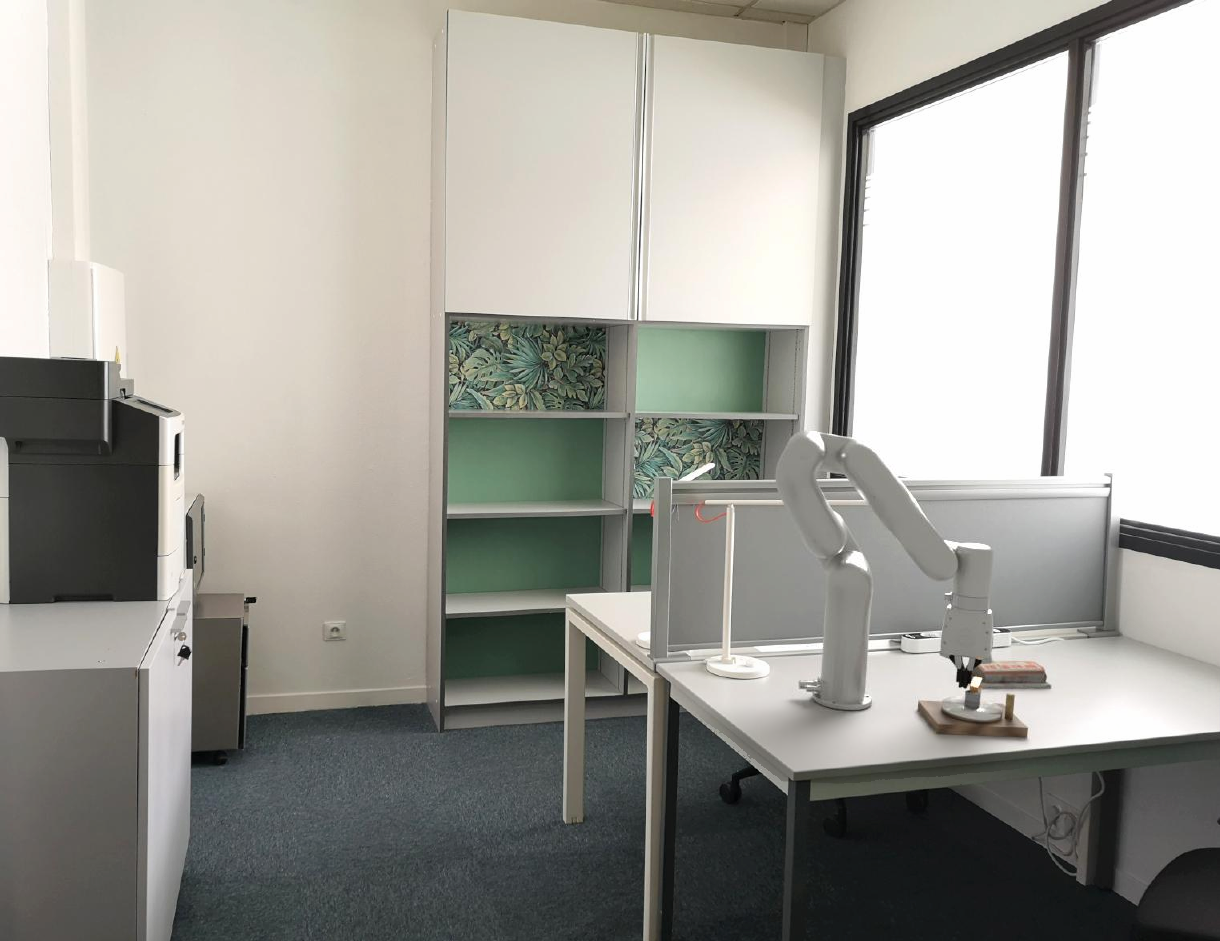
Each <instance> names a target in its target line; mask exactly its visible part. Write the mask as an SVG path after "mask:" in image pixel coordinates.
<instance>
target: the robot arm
mask: <svg viewBox="0 0 1220 941" xmlns="http://www.w3.org/2000/svg"><path fill="white" fill-rule="evenodd" d="M818 471H820V472H826V473H832V474H838V475H844V476H845V477H846V479H847V480H848V481H849V482H850V484H851V485H852V487H853V488H854V489H855V490H856V491H857V493H858V494H859V495H860V496H861V498H862V499H863V500H864V501H865V503H866V504H867V505H868V507H869V509H871V510H872V512H873V513H874V515H875V516H876V517H877V518H878V520H879V521H880V522H881V524H882V525H883V526H884V527H885V529H887V530H888V532H889V533H890V534H891V535H892V536H893V537H894V538H895V540H897V542H898V544H899V545H900V546H901V547H902V548H903V550H904V551H905V552H906V553H907V555H908V556H909V557H910V559H911V560H912V561H913V563H914V564H915V565H916V566H917V568H918V569H919V570H920V572H921V573H922V574H923V575H924V577H926V578H927V579H928V580H931V581H933V582H936V583H937V582H938V583H943V582H947V581H949V580H951V579H952V591H951V592H950V593H945V594H944V600H947V601H948V602H950V604H948V605H947V606H946V610H945V613H944V616H943V621H942V622H943V623H942V629H941V636H940V637H941V638H940V651H939V653H938V654H939V656H940V657H943V658H945V659H949V660H950V661H951V663H952V664H953V665H954V666H955V669H956V676H955V677H956V678H955V682H956V683H958V688H959V689H962V688H963V689H965V690H966V689H967V688H968V687H969V685H971V682H972V670H973V669H974V668H976V667H977V666H978V665H980V664H991V663H992V661H994V660H993V659H994V658H993V654H992V651H993V648H994V647H993V646H994V619H993V612H992V610H991V609H990V600H991V599H990V598H991V588H992V587H991V586H992V585H991V584H992V576H993V562H994V551H993V549H992V548H991V547H990V546H989V545H987V544H983V543H977V542H976V543H975V542H963V543H962V542H961V543H960V542H954V541H950V540H946V539H945V540H944V539H943V537H942V536H941V535H940V534H939V532H938V531H937V530H936V528H935V526H933V525H932V523H931V522H930V521H929V519H928V518H927V516H926V515H925V513H924V512H923V510H922V509H921V507H920V505H919V503H918V502H917V500H916V498H915V497H914V495H913V494H912V493H911V491H910V490H909V489H908V487H907V486H906V485H905V484H904V482H903V481H902V480H901V478H899V477H898V475H897V474H896V473H895V472H894V470H893V469H892V468H891V466H890V464H888V463H887V461H886V460H885V458H884V457H883V456H882V455H881V454H880V452H879V451H878V450H877V448H875V446H874V445H873V443H871V442H870V441H869V440H866V439H863V438H856V437H849V436H845V435H844V436H842V435H837V434H832V433H825V432H820V431H813V430H801V431H798V432H796V433H794V434H793V435H792V436H791V437H790V438H789V440H788V442H787V444H786V446H785V448H784V450H783V452H782V453H781V455H780V456H779V459H778V462H777V464H776V468H775V485H776V489H777V492H778V495H779V497H780V499H781V502H782V503H783V505H784V507H785V509H786V511H787V513H788V514H789V517H790V518H791V520H792V522H793V524H794V525H795V528H796V530H797V531H798V533H799V534H800V537H801V539H802V541H803V544H804V545H805V547H806V548H807V550H808V551H809V552H810V554H812V555H814V557H815V559H816V561H817V563H819V564H818V565H819V566H820V567H821V569H822V571H823V572H824V574H825V576H826V588H825V589H826V594H825V607H824V620H823V622H824V623H823V641H822V656H821V672H820V675H817V678H816V679H815V678H814V679H813V680H806V679H805V680H804V679H803V680H802V679H799V680H798V689H799V690H805V691H806V692H807V693H812V699H813V700H814V702H815V703H817V704H819V705H821V706H824V707H826V708H831V709H836V710H844V711H857V710H864V709H867V708H869V707H871V706H872V703H873V698H872V696H870V694H868V693H867V692H866V684H867V682H866V681H867V672H868V671H867V668H868V654H869V640H870V638H869V637H870V624H871V613H872V612H871V610H872V602H873V594H874V578H873V573H872V570H871V567H870V564H869V562H868V560H867V558H866V556H865V555H864V553H863V551H862V549H861V548H860V546H859V544H858V542H857V541H856V540H855V538H854V536H853V534H852V533H851V531H850V529H849V527H848V525H847V524H846V522H845V520H844V519H843V517H842V516H841V515H840V514H839V513H837V512H836V511H834V510H833V508H832V507H831V505H830V503H829V501H828V500H827V498H826V496H825V493H824V492H823V490H822V489H821V487H820V485H819V483H818V480H817V473H818ZM964 658H968V662H967V664H966V666H965V663H964Z"/></svg>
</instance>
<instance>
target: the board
mask: <svg viewBox="0 0 1220 941" xmlns="http://www.w3.org/2000/svg"><path fill="white" fill-rule="evenodd" d="M1005 696H1006V697H1005V704H1003V703H994V702H993V703H994V704H996V705H998V706H999V707H1001V708H1002V710H1003V714H1002V719H1001V720H999V721H996V722H990V723H979V722H970V721H965V720H960V719H957V718H954V717H951V716H949V715H947V714H945V713H944V712H943V711H942V710H941V704H942V701H943V700H920V699H919V700H918V701H917V711H918V712H919V713H920V715H922V716H923V718H924V719H925V721H926V722H927V723H928V724H929V726H930V727H931V728H932V730H934V732H935V733H936V734H937V735H938V734H939V735H961V736H962V735H965V736H985V737H986V736H987V737H990V736H991V737H1012V738H1013V737H1016V738H1028V733H1029V732H1028V731H1029V730H1028V729H1029V727H1027V725H1026V724H1025V723H1024V722H1023V721H1022V720H1020V718H1018V716H1016V715H1015V714H1014V708H1015V696H1016V694H1015V693H1010V692H1009V693H1006V695H1005Z"/></svg>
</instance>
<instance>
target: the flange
mask: <svg viewBox="0 0 1220 941" xmlns="http://www.w3.org/2000/svg"><path fill="white" fill-rule="evenodd" d="M981 684H982V678H978V677H974V678H973V680H972V683H971V684H969V690H968V689H967V690H965V695H964V696H951V697H947V698H944V699H942V700H941V701H942V704H941V710H942V711H943V712H944V713H945V714H947V715H949V716H951V717H954V718H957V719H960V720H965V721H970V722H979V723H990V722H996V721H999V720H1001V719H1002V714H1003V710H1002V708H1001V707H999V706H998V705H996V704H994V702H991V701H988V700H986V699H981V695H982V688H981Z"/></svg>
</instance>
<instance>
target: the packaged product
mask: <svg viewBox="0 0 1220 941" xmlns="http://www.w3.org/2000/svg"><path fill="white" fill-rule="evenodd" d="M974 677H978V678H982V684H981V689H989V688H990V689H1040V688H1041V689H1051V688H1052V684H1050V683H1049V682H1047V678H1048V675H1047V674H1046V670H1045V668H1044V666H1042V665H1040V664H1039V663H1037V662H1035V661H1032V660H1031V661H1030V660H1029V661H1026V660H1023V661H1022V660H993V661H992V663H991V664H980V665H978V666H977V667H976V668H974V669H973V670H972V680H973V678H974ZM971 683H972V682H971Z"/></svg>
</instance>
